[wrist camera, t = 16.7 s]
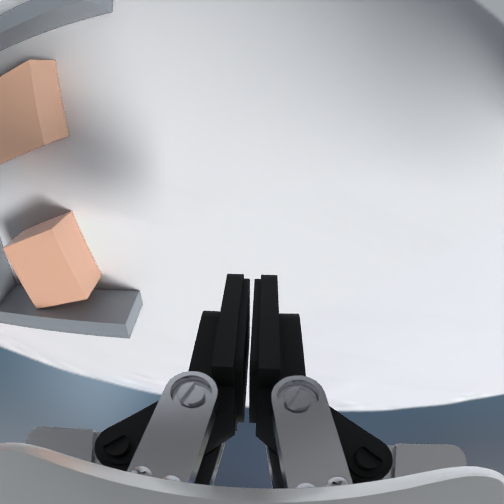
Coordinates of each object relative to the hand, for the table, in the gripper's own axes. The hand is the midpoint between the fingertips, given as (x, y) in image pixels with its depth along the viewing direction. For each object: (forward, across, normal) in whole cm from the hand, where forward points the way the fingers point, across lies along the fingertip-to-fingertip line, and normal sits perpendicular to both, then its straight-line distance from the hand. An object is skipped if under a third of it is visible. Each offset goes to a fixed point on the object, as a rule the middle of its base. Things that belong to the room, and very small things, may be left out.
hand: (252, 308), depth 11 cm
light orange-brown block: (+8, +14, -7) cm, 18 cm away
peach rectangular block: (+8, +14, +3) cm, 16 cm away
